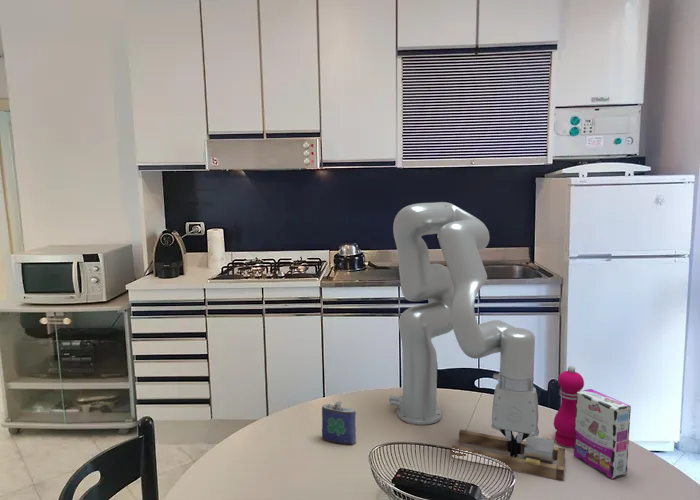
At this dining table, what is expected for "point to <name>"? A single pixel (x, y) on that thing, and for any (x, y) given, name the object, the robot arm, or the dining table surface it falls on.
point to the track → (514, 463)
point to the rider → (539, 449)
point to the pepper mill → (567, 407)
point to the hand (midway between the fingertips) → (513, 454)
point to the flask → (338, 424)
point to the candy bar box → (602, 432)
